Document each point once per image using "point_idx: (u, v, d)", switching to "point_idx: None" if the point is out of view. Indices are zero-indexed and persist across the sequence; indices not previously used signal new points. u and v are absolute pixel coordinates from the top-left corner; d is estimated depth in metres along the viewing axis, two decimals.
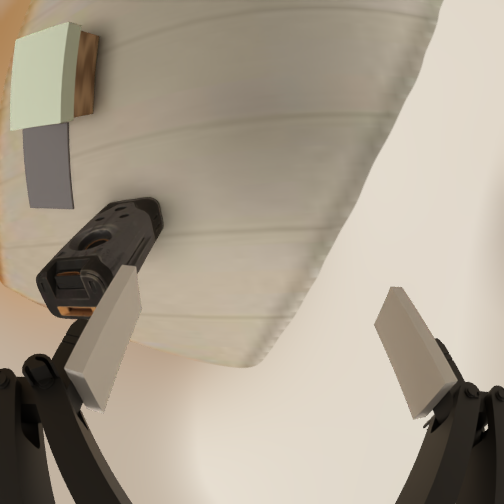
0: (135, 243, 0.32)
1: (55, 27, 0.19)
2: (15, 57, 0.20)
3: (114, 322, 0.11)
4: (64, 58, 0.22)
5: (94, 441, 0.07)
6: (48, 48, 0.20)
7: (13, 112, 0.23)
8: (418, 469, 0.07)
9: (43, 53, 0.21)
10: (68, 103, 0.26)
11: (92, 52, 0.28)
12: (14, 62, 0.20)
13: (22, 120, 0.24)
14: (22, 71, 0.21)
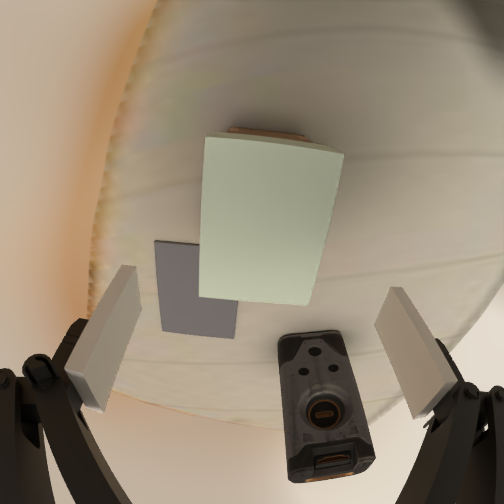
0: None
1: (314, 152, 0.18)
2: (209, 176, 0.19)
3: (113, 323, 0.11)
4: None
5: (94, 441, 0.07)
6: (298, 190, 0.19)
7: (207, 273, 0.22)
8: (418, 469, 0.07)
9: (287, 195, 0.19)
10: None
11: None
12: (202, 182, 0.19)
13: (230, 288, 0.23)
14: (231, 211, 0.20)
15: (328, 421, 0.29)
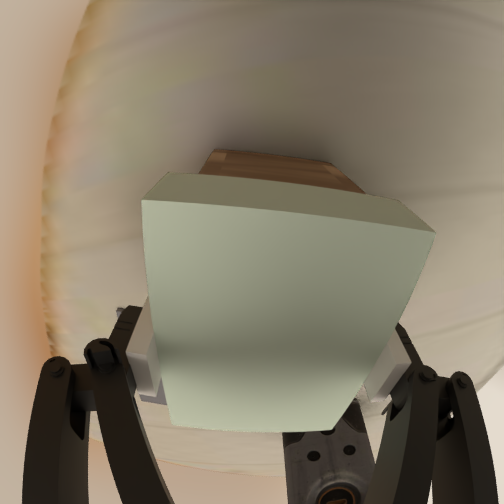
0: None
1: (384, 231, 0.08)
2: (159, 280, 0.09)
3: None
4: None
5: (144, 430, 0.08)
6: (342, 303, 0.09)
7: (180, 406, 0.12)
8: (382, 461, 0.07)
9: (320, 312, 0.10)
10: None
11: None
12: (150, 288, 0.09)
13: (217, 421, 0.13)
14: (211, 338, 0.10)
15: None
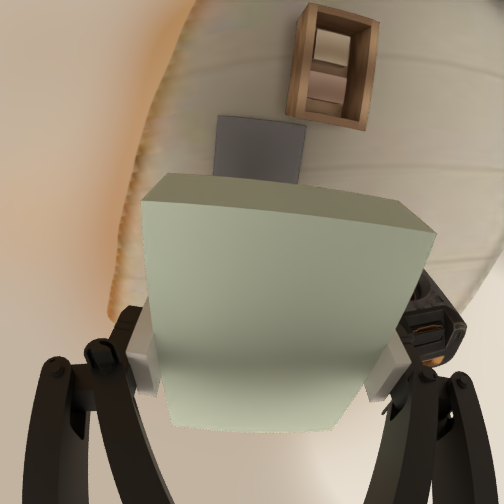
0: None
1: (385, 232, 0.08)
2: (159, 281, 0.09)
3: None
4: None
5: (144, 430, 0.08)
6: (342, 304, 0.09)
7: (180, 407, 0.12)
8: (382, 461, 0.07)
9: (320, 313, 0.10)
10: None
11: None
12: (150, 289, 0.09)
13: (218, 422, 0.13)
14: (211, 339, 0.10)
15: None
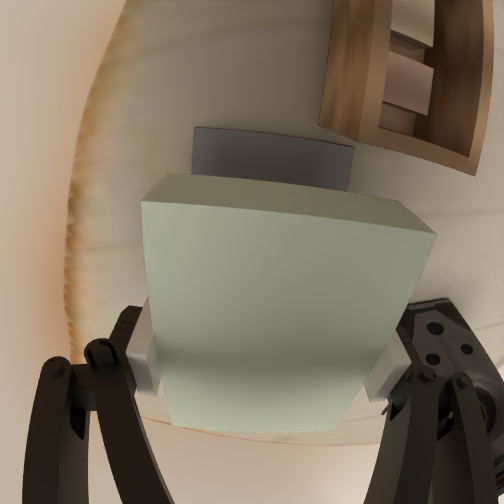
0: None
1: (385, 233, 0.08)
2: (159, 282, 0.09)
3: None
4: None
5: (144, 430, 0.08)
6: (341, 304, 0.09)
7: (180, 407, 0.12)
8: (382, 461, 0.07)
9: (320, 314, 0.10)
10: None
11: None
12: (150, 289, 0.09)
13: (217, 422, 0.13)
14: (211, 339, 0.10)
15: None
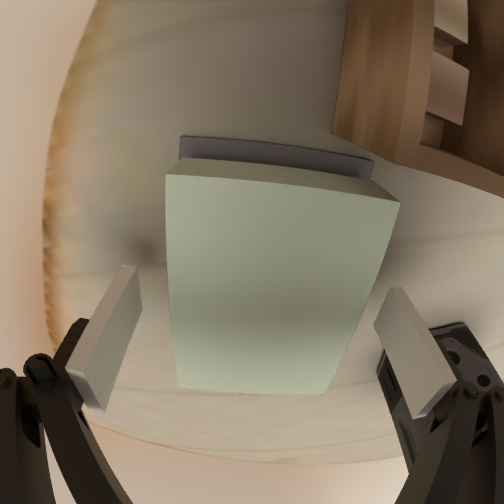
0: None
1: (355, 200, 0.10)
2: (176, 240, 0.11)
3: (115, 322, 0.11)
4: None
5: (95, 441, 0.07)
6: (324, 260, 0.12)
7: (187, 365, 0.15)
8: (417, 469, 0.07)
9: (306, 268, 0.12)
10: None
11: None
12: (167, 248, 0.12)
13: (220, 381, 0.16)
14: (216, 292, 0.12)
15: None
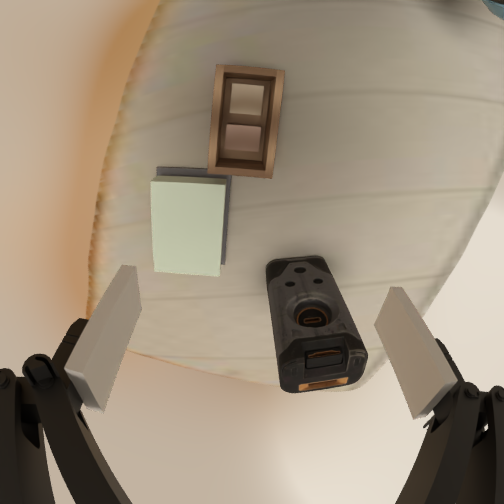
0: None
1: (208, 185, 0.34)
2: (154, 202, 0.34)
3: (114, 323, 0.11)
4: (222, 221, 0.36)
5: (94, 441, 0.07)
6: (201, 207, 0.35)
7: (158, 256, 0.38)
8: (418, 469, 0.07)
9: (196, 210, 0.35)
10: None
11: None
12: (151, 205, 0.35)
13: (171, 265, 0.38)
14: (167, 220, 0.35)
15: (317, 327, 0.33)
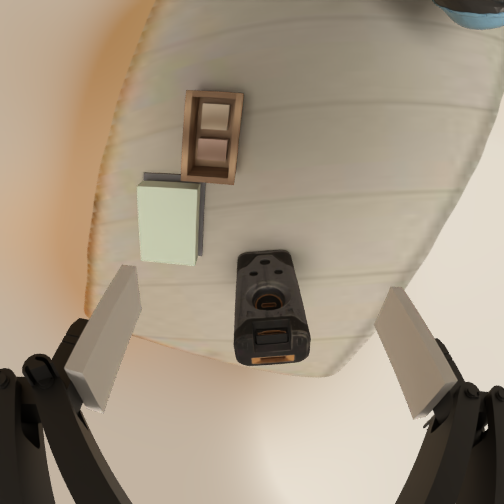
0: None
1: (183, 190, 0.40)
2: (140, 203, 0.41)
3: (114, 323, 0.11)
4: (196, 220, 0.42)
5: (94, 441, 0.07)
6: (178, 207, 0.41)
7: (144, 248, 0.44)
8: (418, 469, 0.07)
9: (174, 210, 0.41)
10: (197, 248, 0.46)
11: (241, 113, 0.38)
12: (138, 205, 0.41)
13: (155, 256, 0.45)
14: (151, 218, 0.42)
15: None
